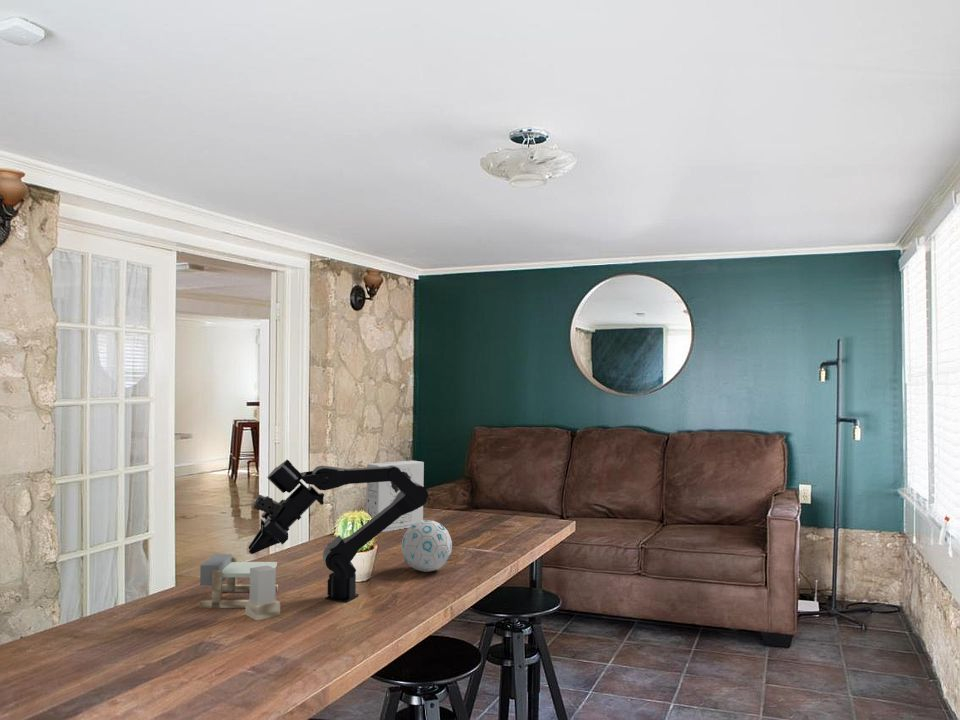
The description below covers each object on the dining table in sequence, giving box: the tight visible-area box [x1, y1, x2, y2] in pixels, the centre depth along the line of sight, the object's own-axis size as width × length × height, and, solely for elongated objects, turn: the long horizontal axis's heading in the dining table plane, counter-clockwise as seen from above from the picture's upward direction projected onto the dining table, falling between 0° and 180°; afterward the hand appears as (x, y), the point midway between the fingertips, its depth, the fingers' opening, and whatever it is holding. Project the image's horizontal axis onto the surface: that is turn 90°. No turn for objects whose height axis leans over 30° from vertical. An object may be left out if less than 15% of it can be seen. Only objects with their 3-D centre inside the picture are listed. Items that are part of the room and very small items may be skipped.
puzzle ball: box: [401, 519, 453, 573], centre depth 231 cm, size 15×15×15 cm
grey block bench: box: [198, 556, 279, 609], centre depth 200 cm, size 16×16×9 cm
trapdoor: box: [199, 553, 278, 586], centre depth 200 cm, size 16×12×5 cm
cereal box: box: [365, 459, 425, 534], centre depth 296 cm, size 22×8×25 cm, turn 133°
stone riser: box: [244, 599, 281, 621], centre depth 186 cm, size 6×6×3 cm
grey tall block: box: [248, 565, 277, 606], centre depth 186 cm, size 4×4×8 cm
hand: (249, 551), depth 194 cm, fingers open, 4 cm apart
